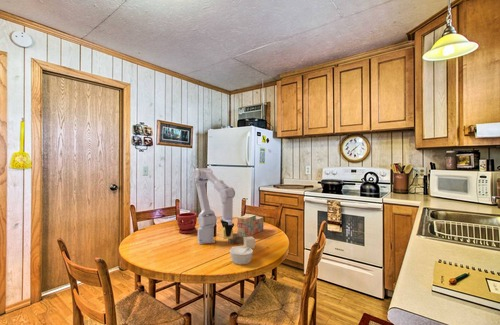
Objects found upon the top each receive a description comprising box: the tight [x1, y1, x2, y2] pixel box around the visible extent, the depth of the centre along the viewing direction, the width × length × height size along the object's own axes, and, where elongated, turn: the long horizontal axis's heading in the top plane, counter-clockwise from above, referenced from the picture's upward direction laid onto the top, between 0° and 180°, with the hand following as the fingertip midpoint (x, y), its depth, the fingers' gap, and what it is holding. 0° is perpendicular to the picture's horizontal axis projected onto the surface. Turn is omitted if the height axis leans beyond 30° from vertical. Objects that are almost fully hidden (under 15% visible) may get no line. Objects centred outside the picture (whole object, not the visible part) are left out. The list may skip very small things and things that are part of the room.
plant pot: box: [176, 212, 198, 234], centre depth 166 cm, size 13×13×12 cm
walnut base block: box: [227, 233, 244, 245], centre depth 148 cm, size 8×8×4 cm
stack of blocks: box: [237, 213, 264, 238], centre depth 165 cm, size 21×6×12 cm, turn 144°
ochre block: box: [221, 226, 234, 240], centre depth 135 cm, size 5×5×5 cm
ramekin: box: [229, 245, 254, 265], centre depth 120 cm, size 11×11×5 cm
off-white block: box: [243, 235, 256, 249], centre depth 139 cm, size 5×5×5 cm
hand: (227, 234), depth 135 cm, fingers closed on ochre block, 5 cm apart
